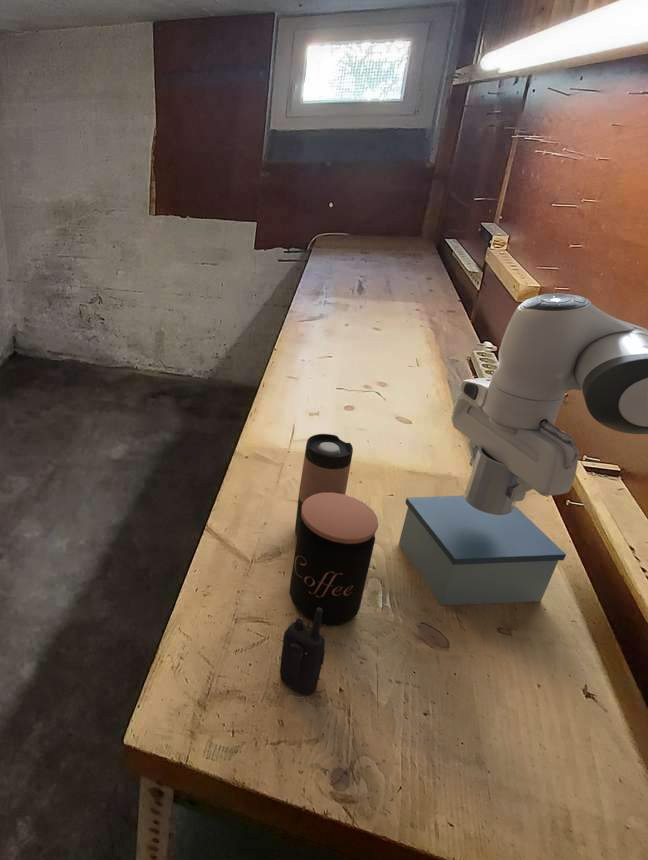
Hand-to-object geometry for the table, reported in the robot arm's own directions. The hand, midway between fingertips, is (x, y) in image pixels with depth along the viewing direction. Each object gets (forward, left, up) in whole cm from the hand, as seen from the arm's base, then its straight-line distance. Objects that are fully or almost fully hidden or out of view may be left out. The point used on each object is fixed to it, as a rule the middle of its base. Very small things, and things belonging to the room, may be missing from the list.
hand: (494, 482), depth 87 cm
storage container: (0, 0, -18) cm, 18 cm away
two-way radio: (+29, +28, -19) cm, 44 cm away
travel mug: (+24, -4, -19) cm, 31 cm away
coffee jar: (+24, +12, -19) cm, 33 cm away
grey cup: (0, 0, -4) cm, 4 cm away
